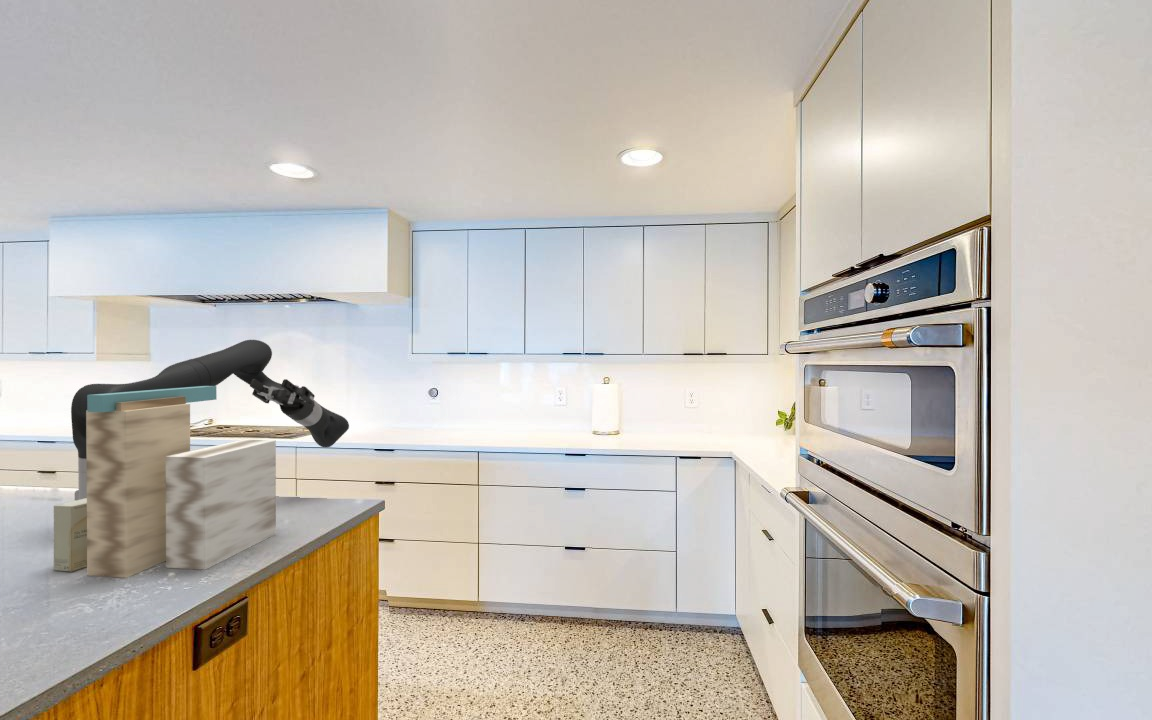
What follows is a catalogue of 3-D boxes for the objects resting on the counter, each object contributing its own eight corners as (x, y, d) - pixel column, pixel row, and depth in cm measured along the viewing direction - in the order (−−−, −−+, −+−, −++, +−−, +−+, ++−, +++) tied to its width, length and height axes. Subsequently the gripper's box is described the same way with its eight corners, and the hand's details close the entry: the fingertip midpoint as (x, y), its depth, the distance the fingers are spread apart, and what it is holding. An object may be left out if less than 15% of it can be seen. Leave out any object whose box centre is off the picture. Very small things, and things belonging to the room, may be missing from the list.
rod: (87, 411, 96) (87, 394, 96) (204, 399, 122) (204, 385, 122) (102, 412, 95) (102, 395, 95) (216, 399, 121) (216, 386, 121)
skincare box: (71, 572, 100) (70, 506, 99) (52, 570, 100) (51, 505, 100) (107, 560, 106) (106, 497, 106) (88, 558, 107) (88, 496, 106)
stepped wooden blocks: (87, 575, 98) (86, 402, 98) (197, 530, 123) (197, 392, 123) (182, 581, 96) (182, 404, 96) (275, 534, 121) (275, 393, 121)
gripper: (282, 395, 154) (247, 368, 140) (329, 396, 152) (298, 369, 138) (273, 420, 150) (236, 395, 136) (322, 421, 149) (289, 396, 135)
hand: (267, 382), depth 137 cm, fingers open, 8 cm apart
